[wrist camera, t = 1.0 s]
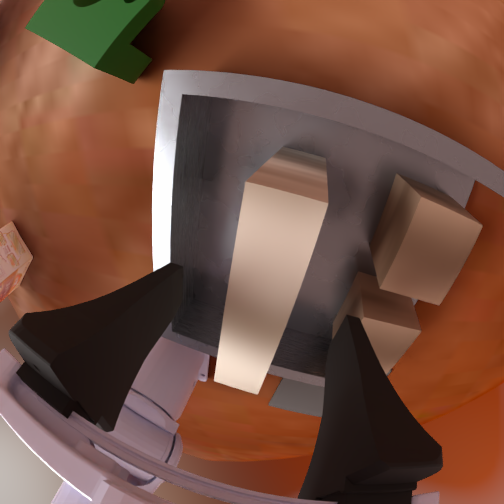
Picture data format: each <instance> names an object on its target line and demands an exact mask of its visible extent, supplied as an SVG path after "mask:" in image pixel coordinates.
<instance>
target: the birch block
mask: <svg viewBox="0 0 504 504" xmlns="http://www.w3.org/2000/svg"><path fill="white" fill-rule="evenodd" d="M327 207H328V185H327V169H326V158H324V157H320V156H317V155H313V154H309V153H306V152H302V151H298V150H294V149H290V148H286V147H282V148H281V149H280V150H279V151H278V152H277V153H275V154H274V155H273V156H272V157H271V158H270V159H269V160H268V161H267V162H266V163H265V164H264V165H262V166H261V167H260V168H259V169H258V170H257V171H256V172H255V173H254V174H253V175H252V176H251V177H250V178H249V179H248V180H247V181H246V182H245V188H244V193H243V199H242V205H241V210H240V216H239V222H238V228H237V234H236V240H235V246H234V252H233V258H232V264H231V271H230V277H229V283H228V289H227V296H226V302H225V309H224V315H223V322H222V329H221V335H220V342H219V349H218V356H217V363H216V370H215V377H214V381H216V382H219V383H222V384H225V385H228V386H231V387H234V388H237V389H240V390H244V391H247V392H250V393H254V394H257V395H258V392H259V390H260V388H261V385H262V383H263V381H264V379H265V376H266V374H267V371H268V369H269V367H270V364H271V362H272V360H273V357H274V355H275V352H276V350H277V347H278V345H279V342H280V340H281V337H282V335H283V332H284V330H285V327H286V325H287V322H288V319H289V317H290V314H291V312H292V309H293V306H294V304H295V301H296V298H297V295H298V293H299V290H300V287H301V284H302V282H303V279H304V276H305V273H306V270H307V268H308V265H309V262H310V259H311V256H312V253H313V250H314V247H315V244H316V241H317V238H318V235H319V232H320V229H321V226H322V223H323V219H324V216H325V213H326V210H327Z"/></svg>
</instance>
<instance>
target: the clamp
mask: <svg viewBox="0 0 504 504" xmlns="http://www.w3.org/2000/svg"><path fill="white" fill-rule="evenodd" d="M164 3H165V0H44V2H43V3H42V4H41V6H40V7H39V8H38V10H37V11H36V13H35V14H34V15H33V17H32V18H31V20H30V21H29V23H28V24H27V26H26V27H25V28H26V29H28V30H30V31H31V32H33V33H35V34H37V35H39V36H41V37H43V38H44V39H46V40H48V41H50V42H52V43H53V44H55V45H57V46H59V47H60V48H62V49H64V50H66V51H67V52H69V53H71V54H72V55H74V56H76V57H77V58H79V59H81V60H82V61H84V62H85V63H87V64H89V65H90V66H92V67H93V68H96V69H98V70H101V71H103V72H106V73H108V74H111V75H113V76H116V77H118V78H120V79H123V80H125V81H127V82H130V83H132V84H134V83H135V82H136V80H137V79H138V78H139V76H140V75H141V74H142V72H143V71H144V70H145V68H146V67H147V66H148V65H149V63H150V62H151V61H152V59H151V58H150V57H148V56H147V55H145V54H144V53H143V52H141V51H140V50H138V49H137V48H135V47H134V46H132V45H131V44H130V43H131V42H132V41H133V39H134V38H135V37H136V36H137V35H138V34H139V32H140V31H141V30H142V29H143V28H144V27H145V26H146V24H147V23H148V22H149V21H150V20H151V19H152V18H153V17H154V16H155V15H156V14H157V13H158V12H159V11H160V9H161V8H162V7H163V5H164Z"/></svg>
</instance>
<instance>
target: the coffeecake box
mask: <svg viewBox="0 0 504 504" xmlns="http://www.w3.org/2000/svg"><path fill="white" fill-rule="evenodd" d="M32 259H33V256H32V254H31V253H30V251H29V249H28V248H27V246H26V245H25V243H24V241H23V240H22V238H21V237H20V235H19V233H18V231H17V229H16V227H15V225H14V223H13V222H12V221H11V222H10V223H8V224H7V225H5V226H4V227H2V228H1V229H0V302H1V301H2V300H4V298H6V297H7V296H8V295H9V294H10V293H11V292H12V291H13V290H15V289H16V288H17V287H18V286H19V285H20V283H21V281H22V279H23V277H24V275H25V273H26V271H27V269H28V267H29V265H30V263H31V261H32Z"/></svg>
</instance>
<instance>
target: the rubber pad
mask: <svg viewBox="0 0 504 504" xmlns="http://www.w3.org/2000/svg"><path fill="white" fill-rule="evenodd" d="M391 371H392V369H391V370H390V371H389V372H388V373H387V374H386V376H388V374H389V373H390V372H391ZM323 402H324V387H321V386H317V385H312V384H308V383H303V382H299V381H295V380H291V379H287V378H282V380H281V382H280V384H279V386H278V388H277V390H276V391H275V393H274V395H273V397H272V399H271V401H270V402H269V406H273V407H277V408H281V409H285V410H289V411H294V412H298V413H303V414H308V415H313V416H318V417H322V412H323Z"/></svg>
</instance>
